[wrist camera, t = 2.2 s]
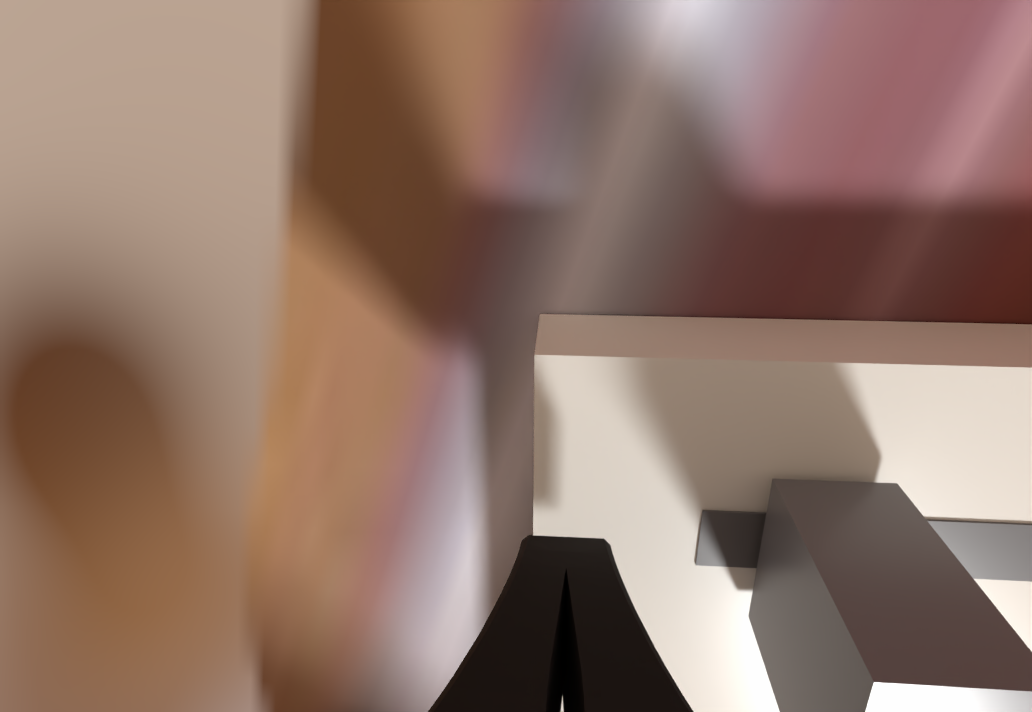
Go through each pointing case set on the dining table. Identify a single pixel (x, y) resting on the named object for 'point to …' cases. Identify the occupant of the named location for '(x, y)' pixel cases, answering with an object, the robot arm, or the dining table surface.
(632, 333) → the switch board
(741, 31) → the dining table surface
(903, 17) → the dining table surface
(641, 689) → the robot arm
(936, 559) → the gray tab
